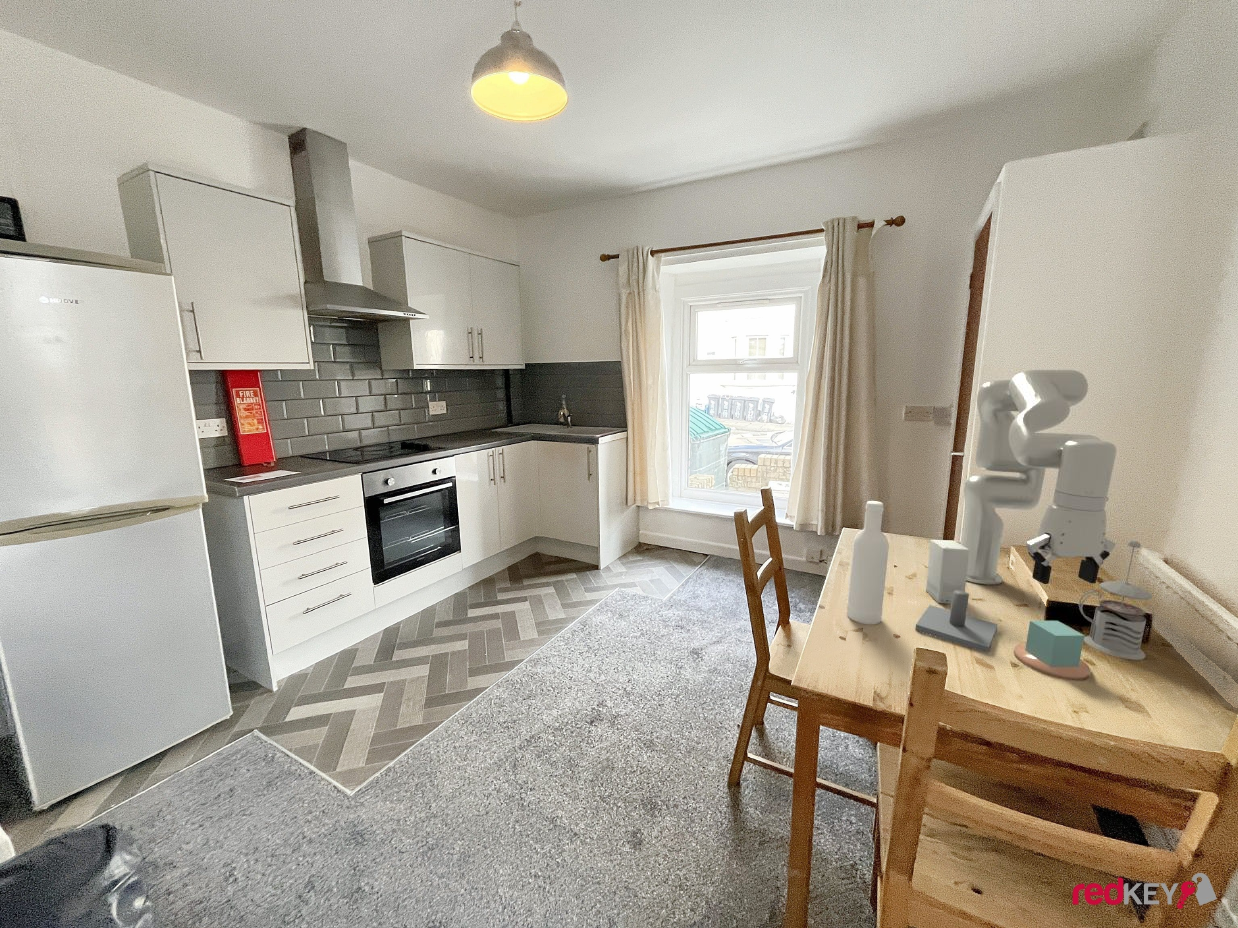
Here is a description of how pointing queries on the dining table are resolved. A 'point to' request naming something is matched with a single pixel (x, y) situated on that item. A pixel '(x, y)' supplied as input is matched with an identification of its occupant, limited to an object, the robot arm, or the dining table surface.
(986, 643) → the post board
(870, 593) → the bottle
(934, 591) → the skincare box
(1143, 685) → the dining table surface
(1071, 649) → the block
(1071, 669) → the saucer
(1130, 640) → the french press
